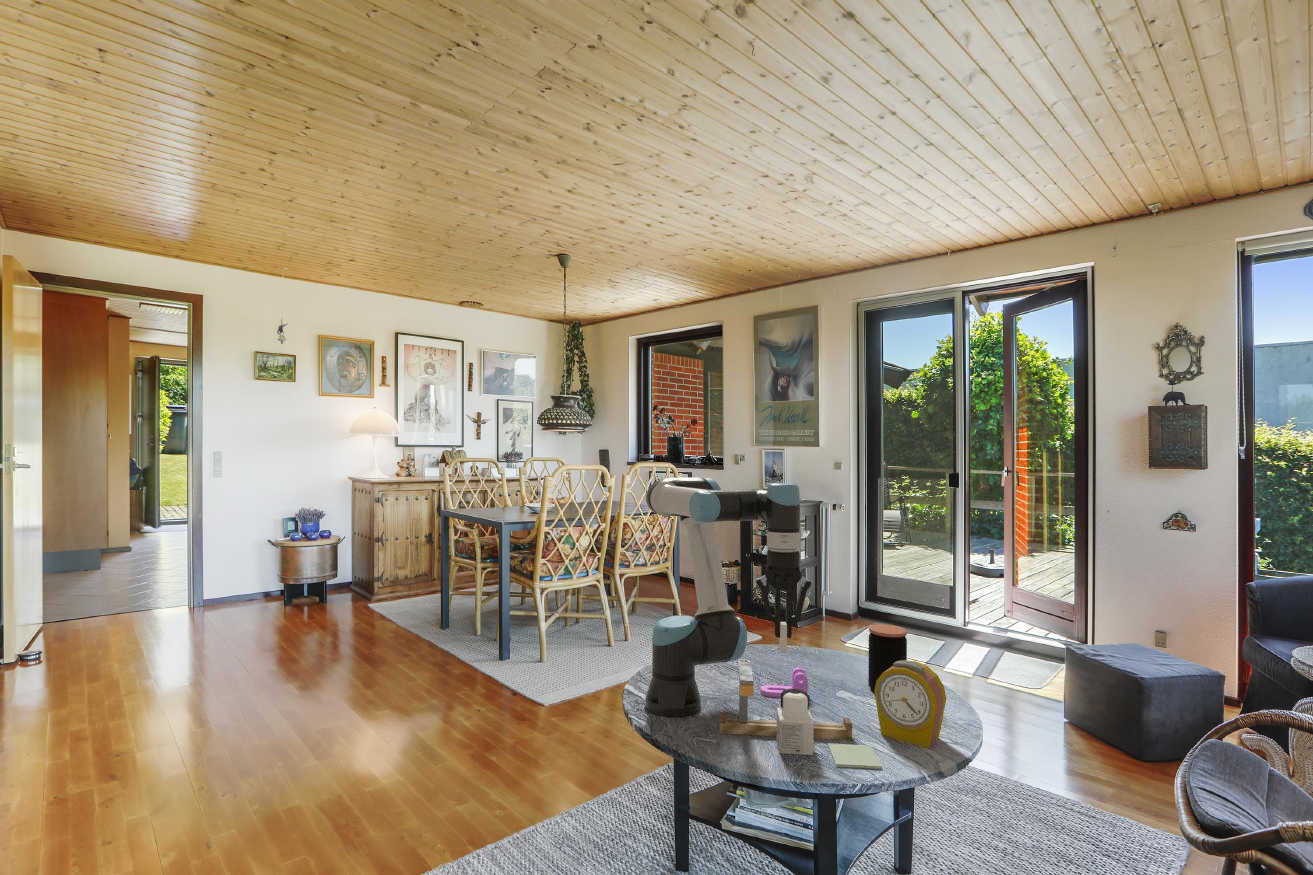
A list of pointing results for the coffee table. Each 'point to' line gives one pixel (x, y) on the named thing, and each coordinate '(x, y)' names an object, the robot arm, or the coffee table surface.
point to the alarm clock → (910, 703)
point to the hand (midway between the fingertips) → (783, 651)
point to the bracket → (797, 683)
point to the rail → (770, 728)
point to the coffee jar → (885, 649)
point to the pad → (854, 756)
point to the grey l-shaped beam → (744, 687)
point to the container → (794, 723)
